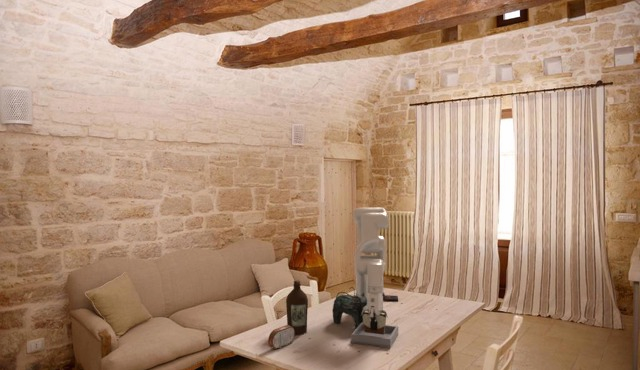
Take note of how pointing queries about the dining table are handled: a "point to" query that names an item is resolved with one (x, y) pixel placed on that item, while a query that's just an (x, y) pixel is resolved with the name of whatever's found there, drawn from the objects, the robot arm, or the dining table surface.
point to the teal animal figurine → (349, 307)
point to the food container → (380, 322)
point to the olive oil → (297, 309)
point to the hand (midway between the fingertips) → (375, 327)
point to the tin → (281, 336)
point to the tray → (375, 337)
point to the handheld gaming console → (390, 298)
